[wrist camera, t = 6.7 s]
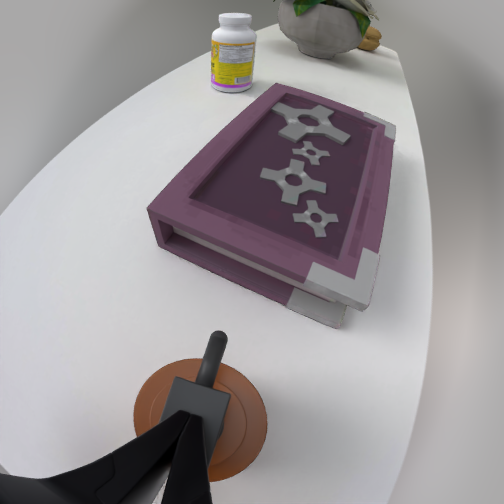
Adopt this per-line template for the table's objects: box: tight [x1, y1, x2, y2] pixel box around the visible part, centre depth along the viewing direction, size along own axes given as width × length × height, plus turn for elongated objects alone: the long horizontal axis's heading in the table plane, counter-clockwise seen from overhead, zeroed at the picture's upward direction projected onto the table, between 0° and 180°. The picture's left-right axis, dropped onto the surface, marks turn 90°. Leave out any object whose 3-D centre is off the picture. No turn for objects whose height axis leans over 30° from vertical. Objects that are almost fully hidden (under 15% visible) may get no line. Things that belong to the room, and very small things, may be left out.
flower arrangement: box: [274, 0, 379, 59], centre depth 47 cm, size 25×25×24 cm
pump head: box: [158, 331, 231, 468], centre depth 10 cm, size 6×2×2 cm, turn 165°
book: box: [147, 83, 396, 329], centre depth 26 cm, size 25×16×5 cm, turn 155°
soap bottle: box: [134, 359, 267, 482], centre depth 13 cm, size 6×6×7 cm
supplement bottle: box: [211, 13, 257, 92], centre depth 35 cm, size 7×7×13 cm
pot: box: [358, 25, 382, 50], centre depth 66 cm, size 12×12×10 cm
